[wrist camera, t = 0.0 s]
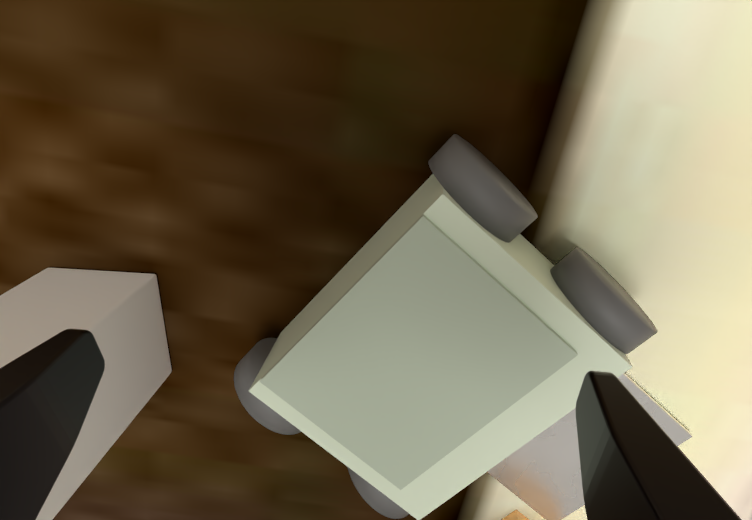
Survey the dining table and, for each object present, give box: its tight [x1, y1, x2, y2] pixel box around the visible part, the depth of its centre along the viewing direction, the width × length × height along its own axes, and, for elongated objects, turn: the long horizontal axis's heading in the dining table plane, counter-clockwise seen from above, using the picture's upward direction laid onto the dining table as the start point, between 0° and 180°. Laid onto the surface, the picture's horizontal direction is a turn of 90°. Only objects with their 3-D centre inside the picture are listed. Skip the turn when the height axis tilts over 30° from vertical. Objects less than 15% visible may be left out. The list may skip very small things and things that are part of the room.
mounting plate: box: [487, 373, 692, 520], centre depth 28 cm, size 9×8×1 cm
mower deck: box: [234, 134, 657, 520], centre depth 24 cm, size 15×12×5 cm
